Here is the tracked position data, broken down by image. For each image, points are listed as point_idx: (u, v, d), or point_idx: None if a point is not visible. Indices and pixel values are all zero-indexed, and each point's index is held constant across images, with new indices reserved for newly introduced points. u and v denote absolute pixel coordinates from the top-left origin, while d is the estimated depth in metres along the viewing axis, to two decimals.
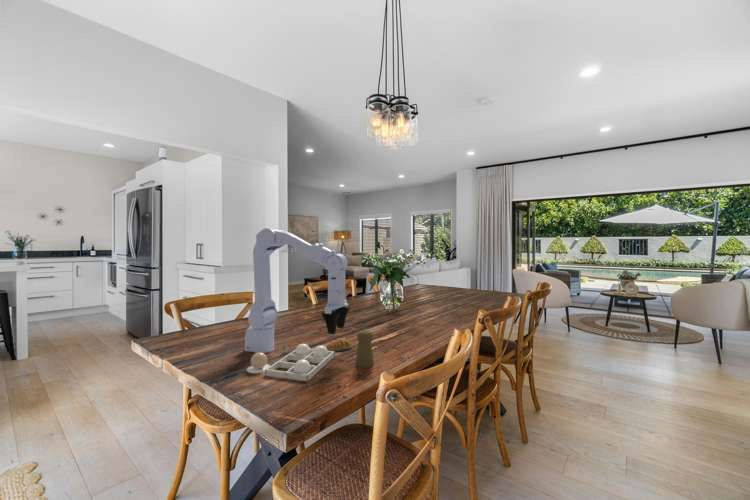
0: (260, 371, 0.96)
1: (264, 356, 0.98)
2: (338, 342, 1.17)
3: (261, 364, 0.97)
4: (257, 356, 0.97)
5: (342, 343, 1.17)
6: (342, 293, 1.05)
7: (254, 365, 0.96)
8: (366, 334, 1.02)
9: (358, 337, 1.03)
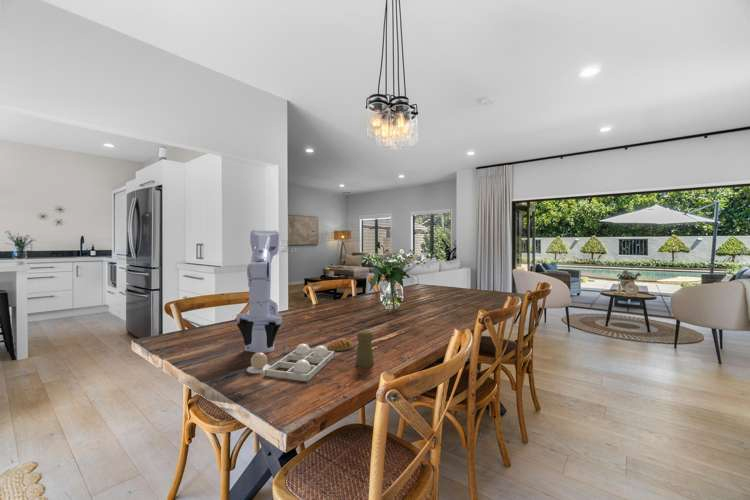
0: (260, 371, 0.96)
1: (264, 356, 0.98)
2: (339, 342, 1.17)
3: (261, 364, 0.97)
4: (257, 356, 0.97)
5: (343, 343, 1.17)
6: (250, 305, 0.96)
7: (254, 365, 0.96)
8: (366, 334, 1.02)
9: (358, 337, 1.03)
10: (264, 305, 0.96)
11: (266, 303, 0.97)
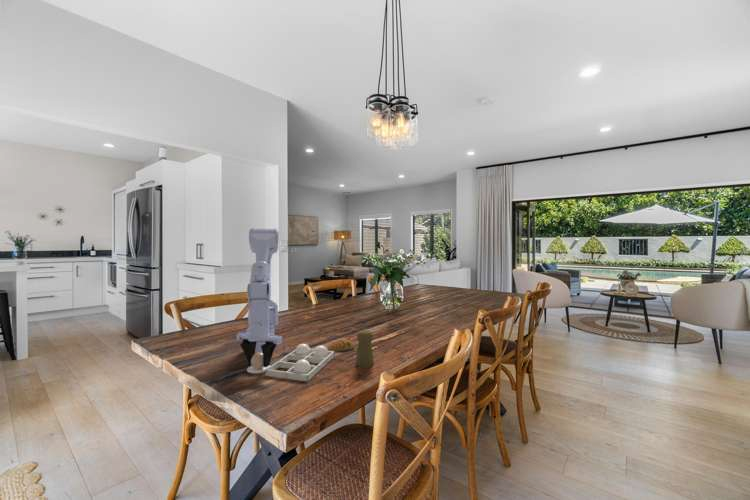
0: (260, 371, 0.96)
1: None
2: (340, 343, 1.17)
3: (261, 364, 0.97)
4: (257, 356, 0.97)
5: (344, 344, 1.17)
6: (250, 325, 0.96)
7: (254, 365, 0.96)
8: (366, 334, 1.02)
9: (358, 337, 1.03)
10: (264, 325, 0.96)
11: (266, 323, 0.97)
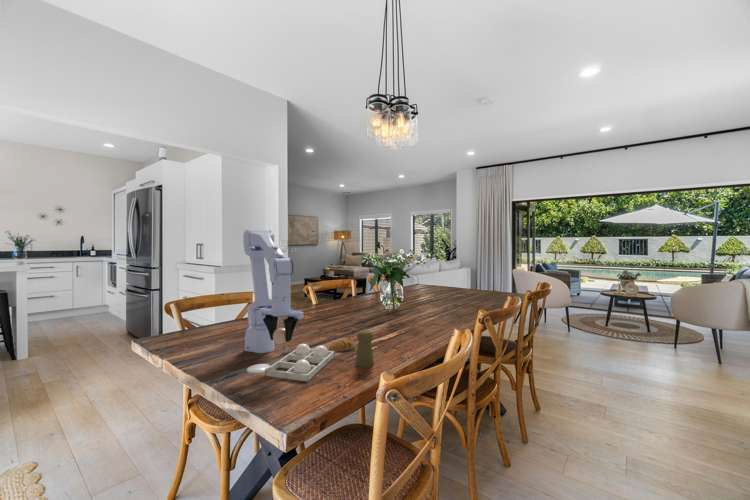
0: (260, 371, 0.96)
1: None
2: (341, 343, 1.17)
3: (283, 338, 0.98)
4: (279, 331, 0.99)
5: (345, 344, 1.17)
6: (273, 300, 0.98)
7: (276, 339, 0.98)
8: (366, 334, 1.02)
9: (358, 337, 1.03)
10: (286, 300, 0.98)
11: (288, 298, 0.99)
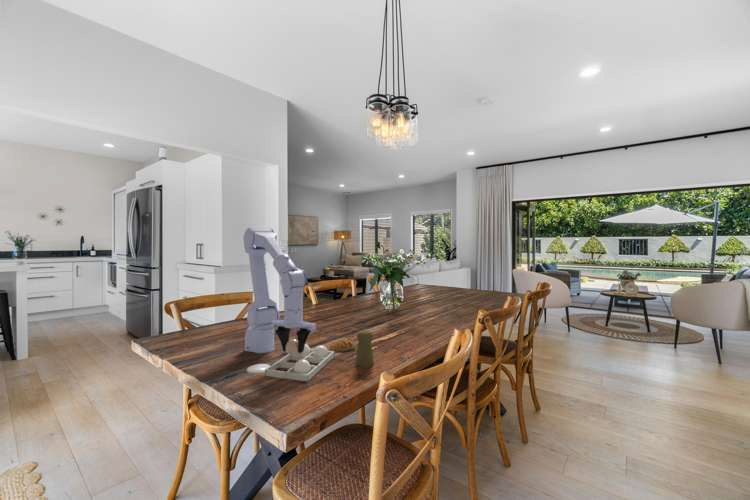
0: (260, 371, 0.96)
1: None
2: (341, 343, 1.17)
3: (296, 350, 1.00)
4: (292, 343, 1.00)
5: (345, 344, 1.17)
6: (285, 312, 0.99)
7: (289, 351, 1.00)
8: (366, 334, 1.02)
9: (358, 337, 1.03)
10: (299, 312, 1.00)
11: (300, 310, 1.00)
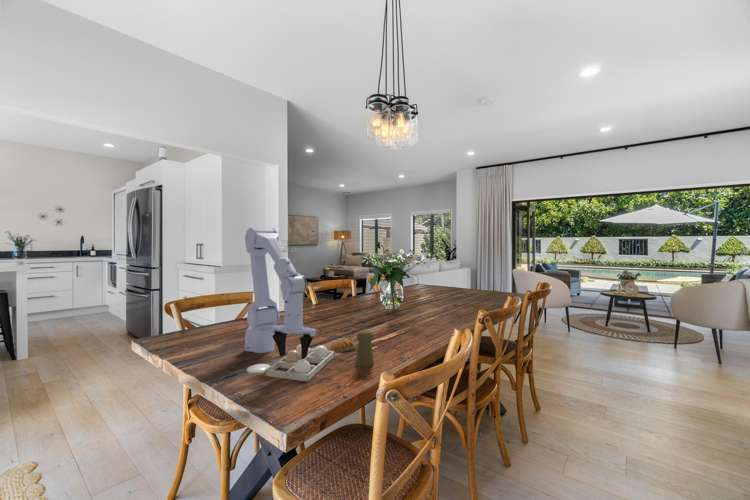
0: (260, 371, 0.96)
1: (298, 354, 1.01)
2: (342, 343, 1.17)
3: (296, 361, 1.00)
4: (292, 354, 1.00)
5: (346, 344, 1.16)
6: (285, 318, 0.99)
7: None
8: (366, 334, 1.02)
9: (358, 337, 1.03)
10: (299, 318, 1.00)
11: (300, 316, 1.00)
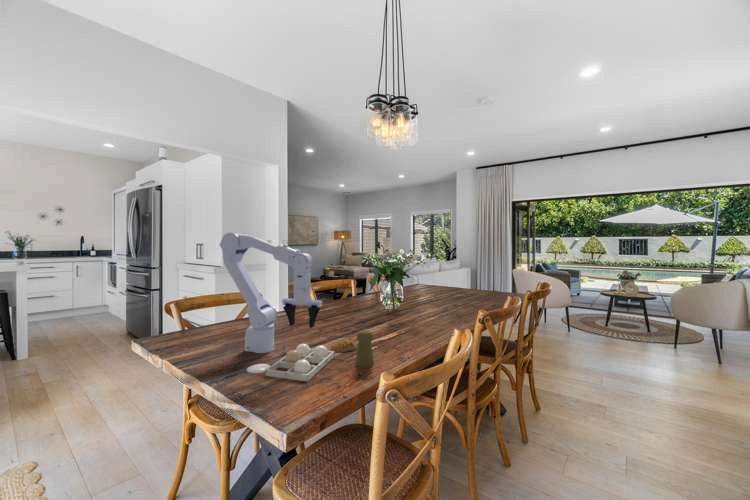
0: (260, 371, 0.96)
1: (298, 353, 1.01)
2: (343, 343, 1.16)
3: (296, 361, 1.00)
4: (291, 354, 1.00)
5: (347, 344, 1.16)
6: (295, 290, 1.10)
7: None
8: (366, 334, 1.02)
9: (358, 337, 1.03)
10: (307, 290, 1.11)
11: (308, 289, 1.11)
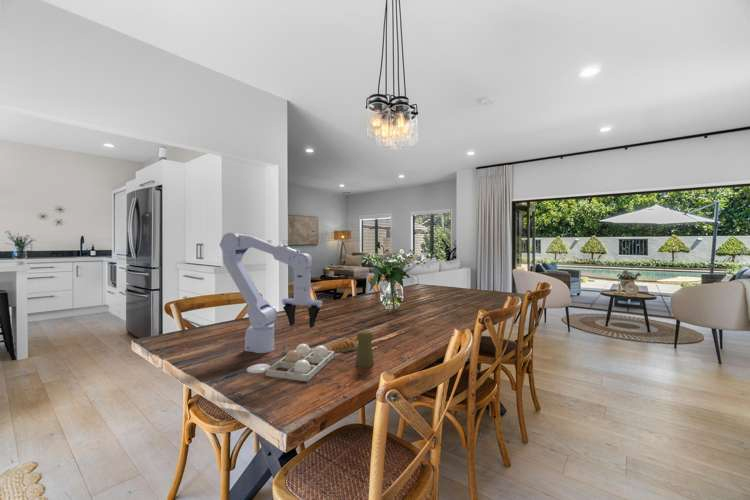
0: (260, 371, 0.96)
1: (298, 353, 1.01)
2: (343, 343, 1.16)
3: (296, 361, 1.00)
4: (291, 354, 1.00)
5: (348, 344, 1.16)
6: (295, 290, 1.11)
7: None
8: (366, 334, 1.02)
9: (358, 337, 1.03)
10: (307, 290, 1.11)
11: (308, 289, 1.12)
